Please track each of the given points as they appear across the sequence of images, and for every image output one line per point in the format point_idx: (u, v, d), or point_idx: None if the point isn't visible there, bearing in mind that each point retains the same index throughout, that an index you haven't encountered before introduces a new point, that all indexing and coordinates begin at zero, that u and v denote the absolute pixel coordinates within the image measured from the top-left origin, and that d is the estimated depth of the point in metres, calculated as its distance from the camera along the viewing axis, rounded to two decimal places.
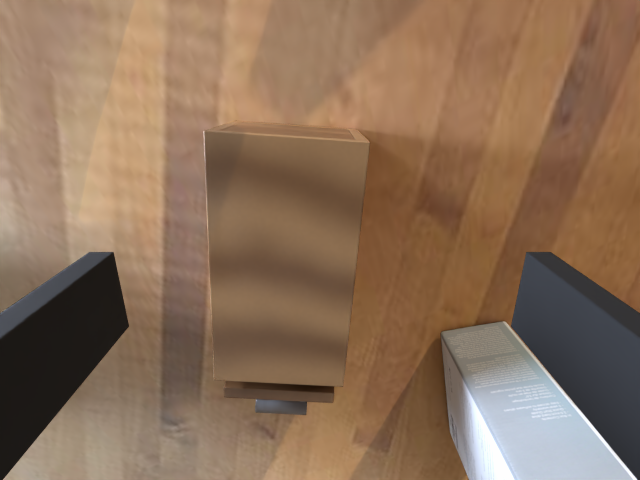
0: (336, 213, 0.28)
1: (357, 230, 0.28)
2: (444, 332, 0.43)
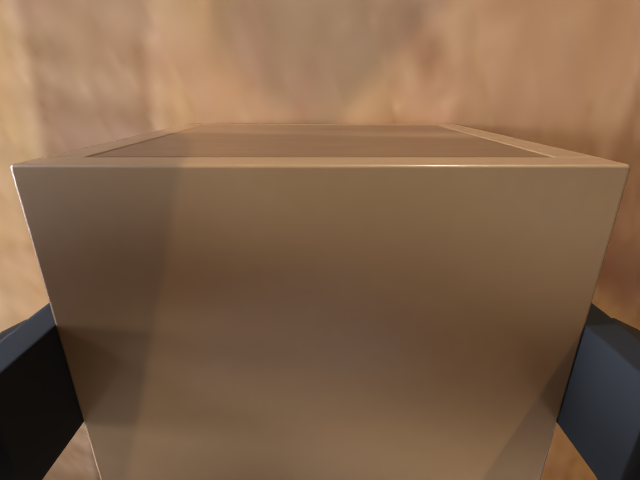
0: (484, 392, 0.09)
1: (546, 432, 0.09)
2: None
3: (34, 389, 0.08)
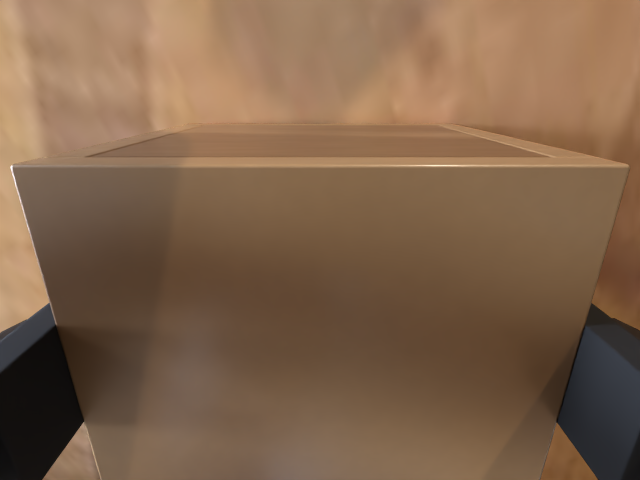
0: (484, 392, 0.09)
1: (546, 432, 0.09)
2: None
3: (34, 389, 0.08)
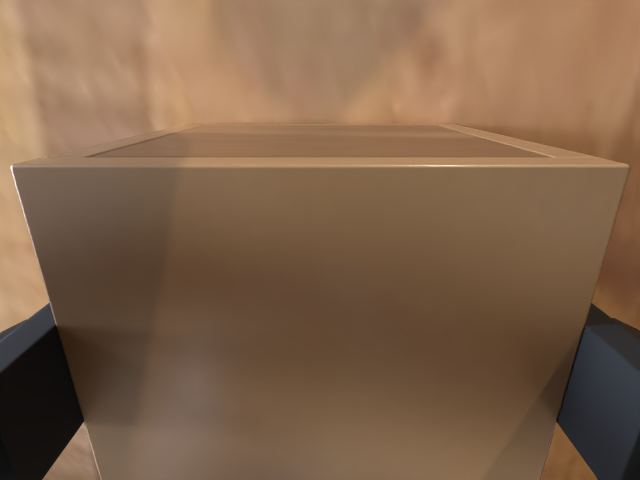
0: (485, 392, 0.09)
1: (546, 432, 0.09)
2: None
3: (34, 389, 0.08)
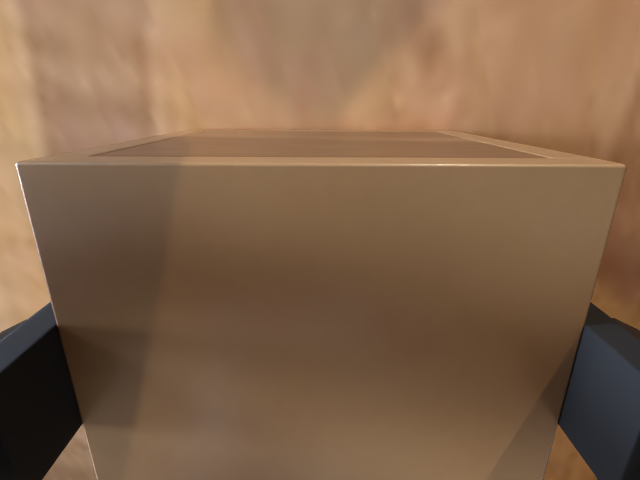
0: (485, 393, 0.09)
1: (547, 435, 0.09)
2: None
3: (34, 389, 0.08)
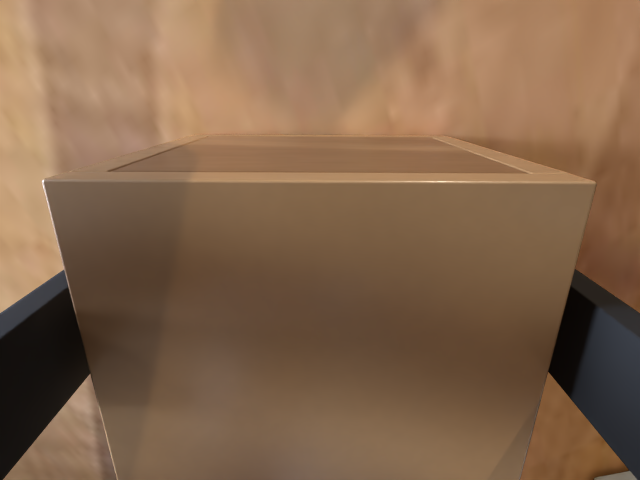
0: (470, 387, 0.10)
1: (527, 425, 0.10)
2: None
3: None
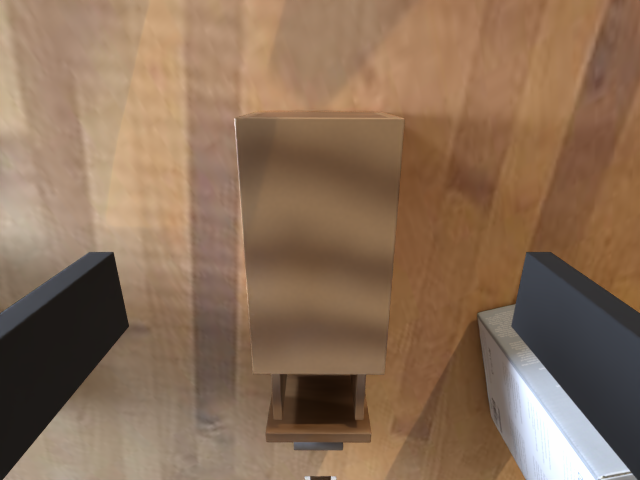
0: (372, 195, 0.27)
1: (394, 211, 0.28)
2: (481, 313, 0.42)
3: None
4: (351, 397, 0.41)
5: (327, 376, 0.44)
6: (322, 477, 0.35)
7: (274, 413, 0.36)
